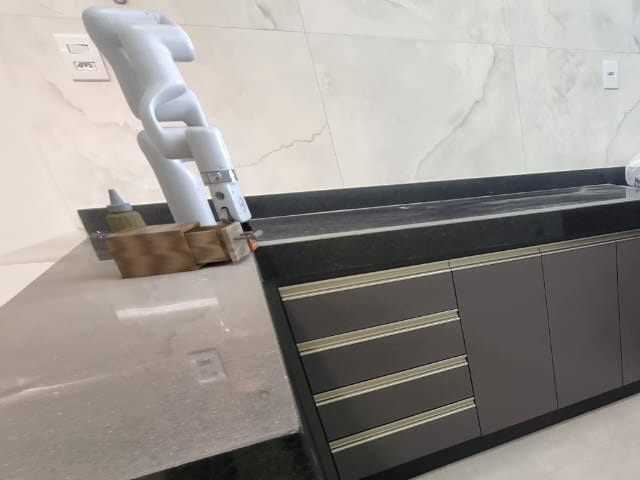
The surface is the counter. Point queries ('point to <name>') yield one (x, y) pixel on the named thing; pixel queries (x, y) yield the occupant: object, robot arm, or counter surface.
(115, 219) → the squeeze bottle
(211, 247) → the drawer
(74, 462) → the counter surface
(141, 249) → the cabinet
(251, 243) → the block
